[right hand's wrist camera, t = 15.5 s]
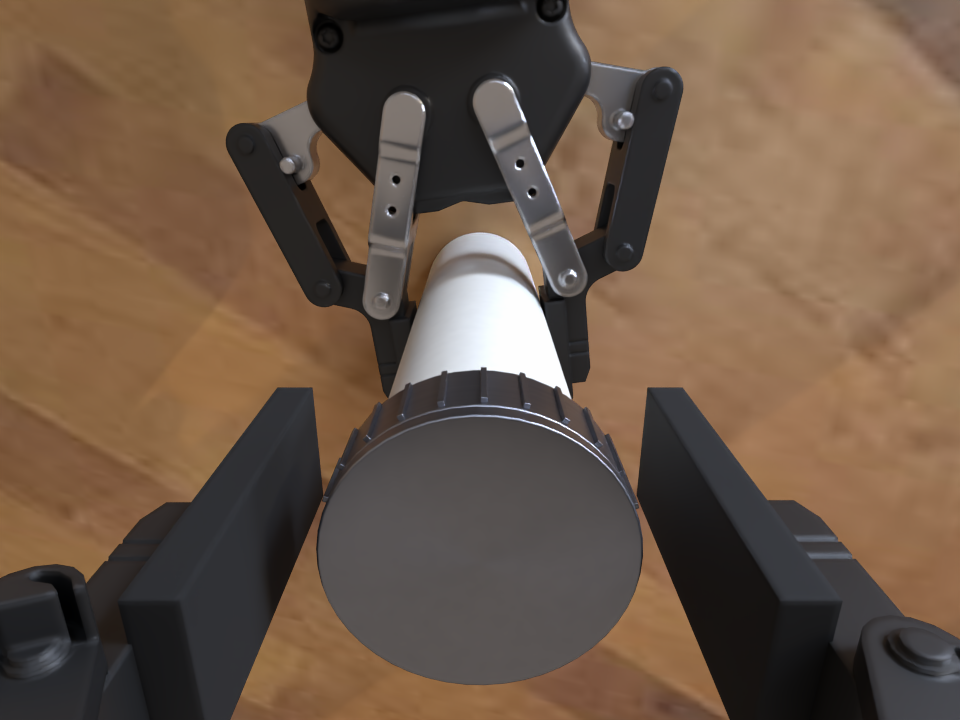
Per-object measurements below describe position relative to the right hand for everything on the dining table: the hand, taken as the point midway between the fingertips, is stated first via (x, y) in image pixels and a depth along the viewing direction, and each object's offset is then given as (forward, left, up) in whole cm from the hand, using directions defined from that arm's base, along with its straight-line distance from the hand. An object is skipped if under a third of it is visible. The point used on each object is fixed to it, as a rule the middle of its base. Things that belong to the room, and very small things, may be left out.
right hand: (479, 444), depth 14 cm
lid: (0, 0, +4) cm, 4 cm away
